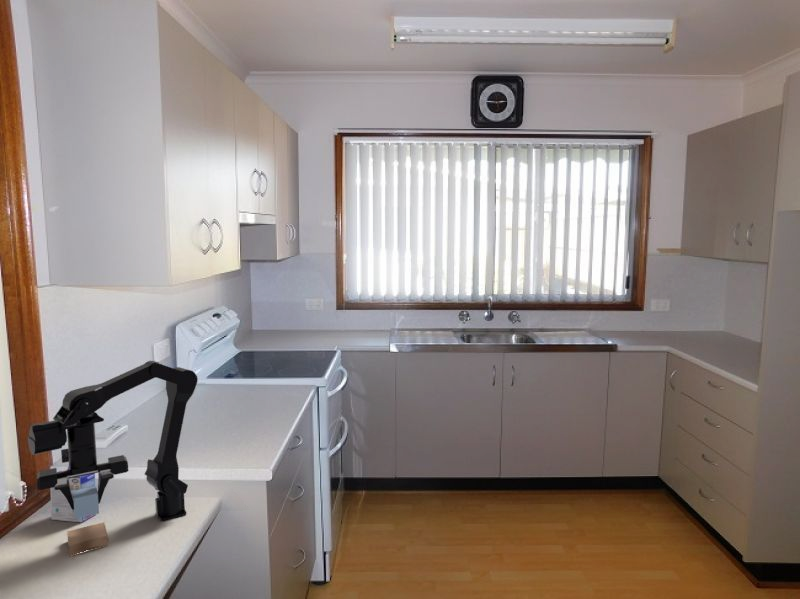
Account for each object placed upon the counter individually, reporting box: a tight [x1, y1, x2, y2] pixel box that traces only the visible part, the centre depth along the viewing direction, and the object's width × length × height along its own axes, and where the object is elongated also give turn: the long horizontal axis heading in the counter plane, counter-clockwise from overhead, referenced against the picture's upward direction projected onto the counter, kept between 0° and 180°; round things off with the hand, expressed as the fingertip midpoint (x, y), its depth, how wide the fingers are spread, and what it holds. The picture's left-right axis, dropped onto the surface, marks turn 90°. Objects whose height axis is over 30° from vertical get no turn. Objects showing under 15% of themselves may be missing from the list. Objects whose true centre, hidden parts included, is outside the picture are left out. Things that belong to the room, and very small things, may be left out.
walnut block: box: [66, 521, 109, 557], centre depth 133 cm, size 8×8×3 cm
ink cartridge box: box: [49, 466, 97, 523], centre depth 146 cm, size 10×6×14 cm, turn 78°
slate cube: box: [73, 485, 100, 519], centre depth 132 cm, size 5×5×5 cm
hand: (86, 506), depth 132 cm, fingers closed on slate cube, 5 cm apart
